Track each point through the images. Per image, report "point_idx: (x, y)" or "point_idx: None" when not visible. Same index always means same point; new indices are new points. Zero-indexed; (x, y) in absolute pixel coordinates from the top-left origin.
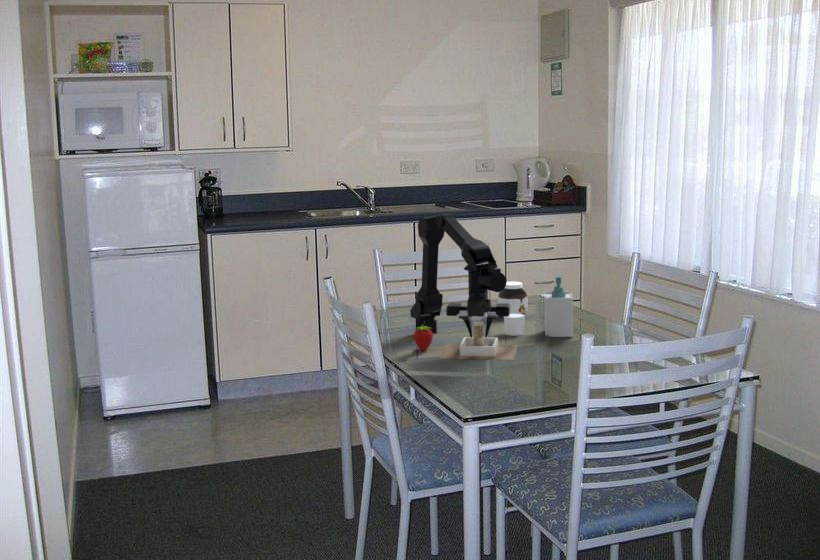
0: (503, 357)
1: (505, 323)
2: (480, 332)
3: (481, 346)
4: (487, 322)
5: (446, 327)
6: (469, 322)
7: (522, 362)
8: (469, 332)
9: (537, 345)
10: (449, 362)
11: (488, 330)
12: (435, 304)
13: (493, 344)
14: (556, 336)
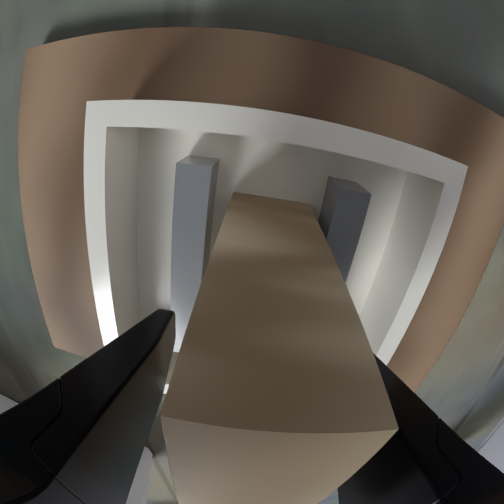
0: (74, 90)
1: (137, 490)
2: (224, 303)
3: (234, 117)
4: (34, 467)
5: (334, 496)
6: (446, 494)
7: (6, 80)
8: (386, 371)
9: (16, 350)
10: (470, 94)
11: (93, 356)
12: None
13: (102, 199)
14: (13, 401)
